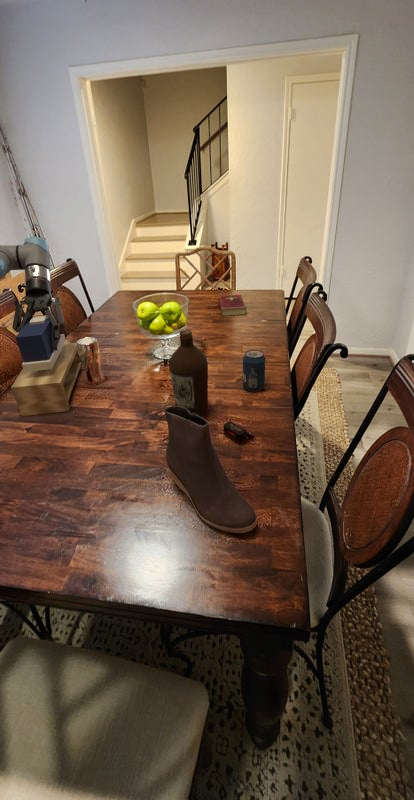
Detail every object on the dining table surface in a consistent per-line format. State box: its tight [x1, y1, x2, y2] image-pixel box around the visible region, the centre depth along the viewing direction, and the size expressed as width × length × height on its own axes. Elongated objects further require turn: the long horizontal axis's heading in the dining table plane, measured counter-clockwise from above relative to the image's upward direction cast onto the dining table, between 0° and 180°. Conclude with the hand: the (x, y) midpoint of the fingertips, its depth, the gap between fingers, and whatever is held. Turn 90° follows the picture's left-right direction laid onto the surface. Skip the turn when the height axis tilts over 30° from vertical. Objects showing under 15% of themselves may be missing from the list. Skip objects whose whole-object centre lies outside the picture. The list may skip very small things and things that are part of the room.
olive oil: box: [168, 328, 209, 418], centre depth 103 cm, size 11×11×25 cm
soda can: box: [242, 349, 266, 393], centre depth 116 cm, size 7×7×12 cm
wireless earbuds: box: [223, 421, 255, 445], centre depth 97 cm, size 5×7×3 cm, turn 43°
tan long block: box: [10, 342, 84, 417], centre depth 122 cm, size 14×30×10 cm, turn 8°
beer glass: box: [75, 336, 106, 386], centre depth 125 cm, size 7×7×15 cm
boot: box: [163, 405, 258, 534], centre depth 74 cm, size 9×24×20 cm, turn 45°
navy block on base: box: [14, 314, 67, 372], centre depth 116 cm, size 22×8×11 cm, turn 8°
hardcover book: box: [218, 294, 247, 317], centre depth 186 cm, size 12×21×4 cm, turn 2°
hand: (40, 350), depth 114 cm, fingers closed on navy block on base, 8 cm apart
